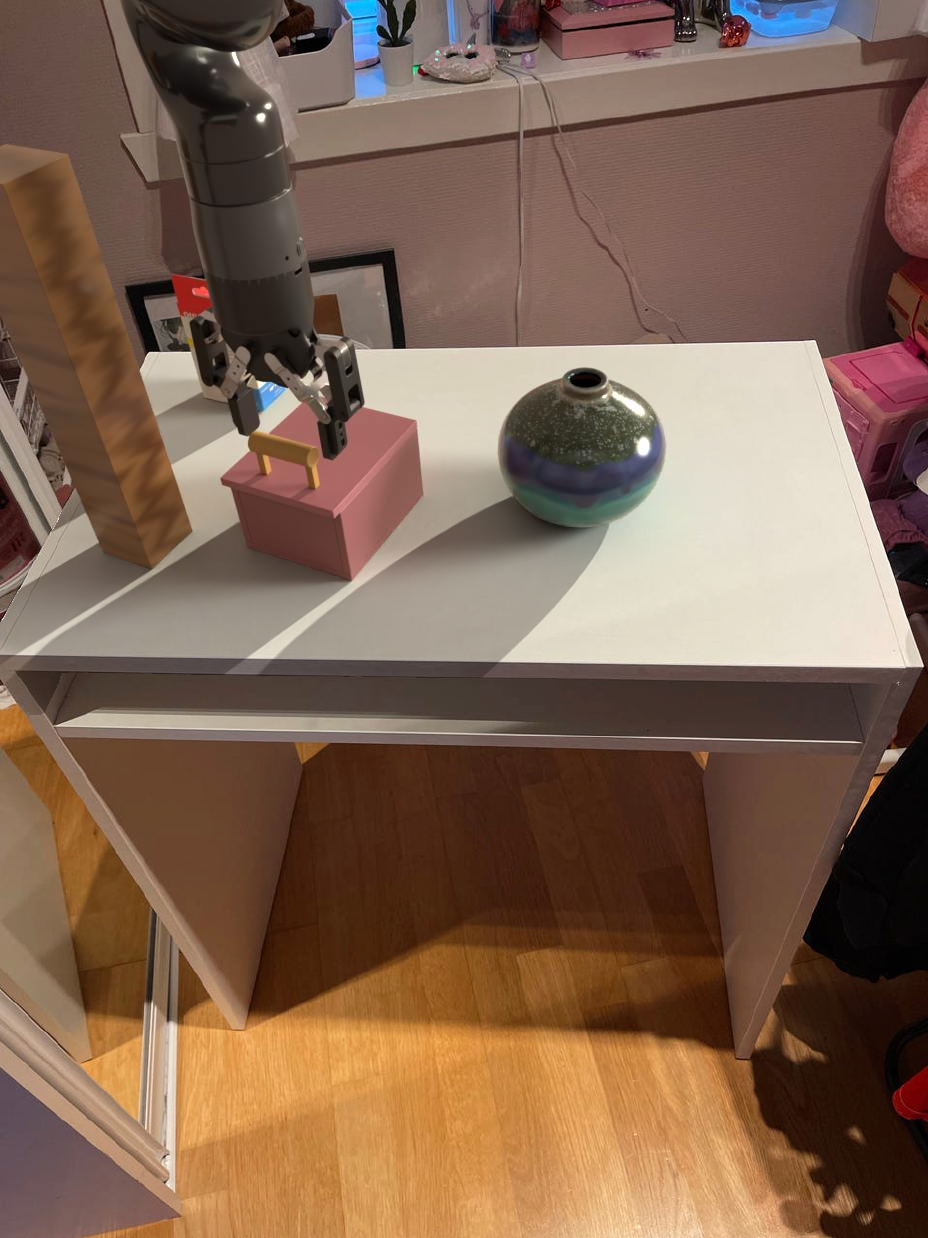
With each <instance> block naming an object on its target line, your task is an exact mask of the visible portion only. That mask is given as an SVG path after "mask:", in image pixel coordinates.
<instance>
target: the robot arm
mask: <svg viewBox="0 0 928 1238" xmlns="http://www.w3.org/2000/svg"><path fill="white" fill-rule="evenodd" d="M284 2H285V0H119V3H120V7H121V11H122V14H123V17H124V20H125V23H126V25H127V27H128V30H129V33H130V35H131V38H132V40H133V42H134V45H135V47H136V49H137V52H138V54H139V57H140V59H141V61H142V64H143V66H144V68H145V71H146V72H147V74H148V77H149V80H150V81H151V84H152V86H153V88H154V90H155V92H156V95H157V97H158V99H159V101H160V102H161V104H162V106H163V108H164V110H165V113H166V114H167V117H168V118H169V121H170V123H171V126H172V128H173V133H174V139H175V143H176V148H177V153H178V157H179V161H180V165H181V169H182V174H183V178H184V183H185V186H186V190H187V194H188V200H189V206H190V216H191V224H192V230H193V234H194V240H195V243H196V247H197V251H198V255H199V260H200V263H201V264H200V265H201V268H202V272H203V275H204V280H206V284H207V288H208V292H209V297H210V301H211V305H212V306H211V307H209V308H208V309H206V310H205V311H203V312H202V313H201V314H199V315H198V316H196V317H195V318H193V319H192V320H191V321H190V323H189V325H190V329H191V334H192V339H193V343H194V348H195V352H196V357H197V362H198V366H199V371H200V375H201V379H202V382H203V383H204V384H205V385H206V386H208V387H212V386H213V385H215V386H216V387H218V388H220V390H221V393H222V394H223V395H224V396H225V397H226V398H227V400H228V403H227V405H228V408H229V411H230V416H231V419H232V420H231V421H232V423H233V425H234V426H235V428H236V429H237V432H238V435H240V436H244V437H247V438H249V436H250V434H251V433H252V432H253V431H257V430H258V429H259V428H260V425H261V419H260V414H259V410H257V406H256V401H255V397H254V392H253V388H252V387H248V386H247V385H248V384H249V383H250V381H251V379H252V377H253V376H254V377H255V380H256V381H260V382H272V383H274V384H276V385H278V386H280V387H284V388H285V389H288V390H290V392H291V393H292V394H293V396H294V397H295V398H296V399H297V401H298V402H300V403H307V405H308V406H309V407H310V408H311V410H312V411H313V412H314V414H315V415H316V416H317V418H318V419H319V421H318V422H317V426H318V431H319V437H320V443H321V449H322V454H323V458H325V459H328V460H334V459H335V458H336V457H337V456H338V455H339V454H340V453H341V452H342V450H343V449H344V448H345V447H346V446H347V443H348V441H347V434H346V427H345V422H347V421H348V420H349V419H350V418H351V417H352V416H353V415H354V414H355V413H356V412H357V411H358V410H359V409H361V408H362V407H364V406H365V397H364V391H363V385H362V379H361V375H360V370H359V363H358V359H357V354H356V348H355V344H354V341H353V340H352V339H351V338H350V337H349V336H342V337H341V338H340V339H339V340H337V341H333V340H327V339H321V337H320V334H318V333H317V330H316V327H315V325H314V312H315V297H314V290H313V285H312V284H313V283H312V278H311V271H310V266H309V258H308V252H307V248H306V241H305V233H304V228H303V221H302V216H301V212H300V208H299V205H298V202H297V198H296V194H295V191H294V187H293V182H292V175H291V170H290V164H289V157H288V152H287V146H286V141H285V139H286V138H285V133H284V127H283V122H282V118H281V115H280V111H279V107H278V104H277V103H276V101H275V98H273V96H272V95H271V94H270V93H269V92H268V91H267V90H266V89H264V88H263V87H262V86H260V85H259V84H258V83H257V82H256V81H254V80H253V79H252V78H251V77H250V76H249V75H248V73H247V71H246V70H245V69H244V66H243V64H242V63H241V60H240V57H239V54H238V53H240V52H245V51H248V50H252V49H254V48H256V47H257V46H259V45H260V44H262V43H263V42H264V41H266V40H267V39H268V38H269V37H270V35H271V34H272V33H273V32H274V31H275V29H276V27H277V26H278V24H279V21H280V19H281V16H282V14H283V13H282V12H283V8H284V5H285V4H284ZM226 343H227V345H228V346H229V347H230V349H231V350H232V351H233V352H234V356H235V357H234V359H233V360H232V362H231V364H230V362H229V356H228V351H227V346H226ZM213 358H214V361H215V365H213ZM309 372H310V373H311V375H312V377H313V379H312V381H311V382H310V383H309V384H306V383H305V382H304V381H303V379H304V378H305V377H306V376H307V375H308V374H309ZM319 392H320V393H321V394H322V396H321V395H319ZM320 396H321V397H325V398H326V400H327V401H328V403H327V404H325V403H324V401H323V400H322V399H321V397H320Z"/></svg>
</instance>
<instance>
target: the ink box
mask: <svg viewBox="0 0 928 1238" xmlns="http://www.w3.org/2000/svg"><path fill="white" fill-rule="evenodd" d="M171 283H172V286H173V290H174V293H175V297H176V306H177V310H178V313H179V316H180V320H181V322H182V327H183V329H184V333H185V336H186V340H187V343H188V347H189V350H190V353H191V357H192V361H193V365H194V367H195V370H196V374H197V377H198V381H199V385H200V386H201V387H200V388H201V391H202V394H203V397H204V398H206V399H208V400H209V399H210V400H213V401H218V402H221V403H226V404H228V400H227V398H226V397H225V396H224V395H223V394H222V393H221V390H220V388H218V387H216V386H215V385H213V386H212V387H208V386H206V385H205V384H204V383H203V382H202V379H201V375H200V371H199V366H198V362H197V357H196V352H195V348H194V343H193V339H192V334H191V329H190V325H189V323H190V321H191V320H192V319H193V318H195V317H196V316H198V315H199V314H201V313H202V312H203V311H205V310H206V309H208V308H209V307H211V306H212V305H211V301H210V297H209V292H208V288H207V284H206V280H205V278H204V279H203V278H197V277H194V276H193V277H192V276H186V275H181V274H175V273H171ZM226 346H227V351H228V356H229V362H230V364H231V362H232V360H233V359H234V357H235V356H234V352H233V351H232V350H231V349H230V347H229V346H228V345H227V343H226ZM213 365H215V361H214V358H213ZM247 386H248V387H252V388H253V392H254V397H255V401H256V406H257V410H258V411H261V412H265V411H266V410H267V409H268V408H269V407H270V406H271V405H272V404H273V403H274V402H275V401H276V400H277V399H279V397H281V395H282V394H284V393H285V391H286V388H284V387H280V386H278V385H276V384H274V383H272V382H260V381H256V380H255V377H254V376H253V377H252V379H251V381H250V383H249V384H248V385H247Z"/></svg>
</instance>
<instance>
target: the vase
mask: <svg viewBox="0 0 928 1238" xmlns="http://www.w3.org/2000/svg"><path fill="white" fill-rule="evenodd" d="M666 453H667V441H666V433H665V429H664V427H663V423H662V421H661V419H660V417H659V415H658V413H657V412H656V410H655V408H654V407H653V406H652V405H651V403H649V401H648V400H646V398H645V397H643V396H642V395H641V394H639V392H636V391H635V390H634V389H633V388H630V387H628V386H626V385H624V384H622V383H621V382H617V381H615V380H612V379H610V378H609V377H608V375H607V374H606V373H605V372H603V371H602V370H601V369H597V368H594V367H586V366H585V367H584V366H582V367H575V368H573V369H570V370H568V371H567V372H565V373H564V374H563V376H562V377H560V378H556V379H552V380H550V381H548V382H545V383H542V384H540V385H538V386H535V388H533V389H531V390H529V391H528V392H527V393H525V394H524V395H523V396H521V397H520V398H519V399H518V401H516V403H514V405H513V406H512V407H510V410H509V411H508V413H507V414H506V415H505V417H504V419H503V421H502V424H501V427H500V430H499V434H498V440H497V459H498V464H499V470H500V472H501V476H502V479H503V481H504V483H505V485H506V487H507V488H508V490H509V492H510V493H511V495H512V496H513V497H514V498H515V499H516V501H517V502H518V503H519V504H520V505H521V506H522V507H523V508H524V509H525V510H526V511H528V512H529V513H531V514H532V515H533V516H535V517H537V518H538V519H541V520H543V521H546V522H547V523H551V524H554V525H557V526H562V527H568V528H595V527H599V526H604V525H607V524H611V523H614V522H616V521H618V520H620V519H623V518H624V517H626V516H628V515H629V514H631V513H632V512H634V511H635V510H636V509H638V508H639V507H640V506H641V505H642V504H643V503H644V502H645V501H646V499H647V498H648V497H649V496H650V494H651V493H652V492H653V491H654V489H655V488H656V486H657V484H658V481H659V479H660V477H661V476H662V475H661V474H662V472H663V469H664V466H665V462H666Z"/></svg>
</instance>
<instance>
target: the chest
mask: <svg viewBox="0 0 928 1238" xmlns="http://www.w3.org/2000/svg"><path fill="white" fill-rule="evenodd" d="M418 431H419V430H418V427H417V428H416V429H415V431H414V432H413V433H412V434H411V435H410V436H409V437H408V438H407V439H406V440H405V442H404V443H403V444H402V445H401V446H400V447H399V448H398V449H397V450H396V451H395V453H394V454H393V455H392V456H391V457H390V458H389V459H388V460H387V461H386V462H385V464H384V465H383V466H382V467H381V468H380V469H379V470H378V471H377V472H376V473H375V475H374V476H373V477H372V478H371V479H370V480H369V481H368V482H367V483H366V484H365V486H364V487H363V488H362V489H361V490H360V491H359V492H358V493H357V494H356V495H355V497H354V498H353V499H352V500H351V501H350V502H349V503H348V504H347V505H346V506H345V508H344V509H343V510H342V511H341V512H340V513H339V514H338V515H337V516H336V517H335V519H333V518H330V517H326V516H323V515H320V514H316V513H313V512H310V511H306V510H303V509H300V508H296V507H293V506H290V505H286V504H283V503H280V502H276V501H273V500H270V499H267V498H263V497H260V496H257V495H253V494H250V493H247V492H243V491H240V490H237V489H233V488H230V491H231V494H232V498H233V500H234V501H233V502H234V505H235V509H236V513H237V516H238V519H239V522H240V526H241V529H242V533H243V536H244V540H245V544H246V547H248V548H251V549H253V550H256V551H259V552H263V553H264V554H265V553H266V554H268V555H272V556H275V557H278V558H281V559H283V560H286V561H290V562H293V563H297V564H299V565H302V566H305V567H309V568H311V569H314V570H317V571H321V572H324V573H327V574H330V575H333V576H335V577H339V578H343V579H345V580H348V581H351V582H352V581H353V580H354V579H355V578H356V577H357V576H358V575H359V573H360V572H361V571H362V570H363V568H364V567H365V566H366V565H367V564H368V562H369V561H370V560H372V558H373V556H374V555H375V554H377V552H378V551H379V549H380V548H381V547H382V546H383V544H384V543H386V541H387V540H388V539H389V537H390V536H391V535H392V533H393V532H394V531H395V530H397V527H398V526H399V525H400V524H401V523H402V522H403V520H404V519H405V518H406V517H407V515H409V513H410V512H411V510H412V509H413V508H414V507H415V506H416V505H417V504H418V502H419V501H420V500H421V499H422V497H423V496H424V488H423V486H424V485H423V476H422V465H421V454H420V444H419V443H420V442H419V432H418Z"/></svg>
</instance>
